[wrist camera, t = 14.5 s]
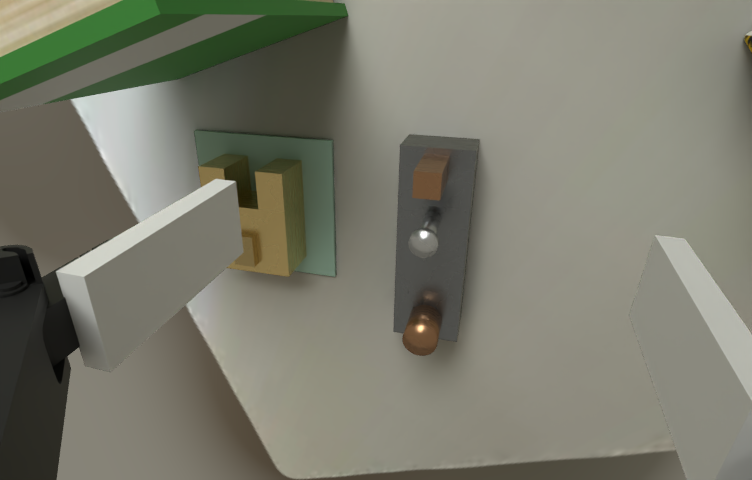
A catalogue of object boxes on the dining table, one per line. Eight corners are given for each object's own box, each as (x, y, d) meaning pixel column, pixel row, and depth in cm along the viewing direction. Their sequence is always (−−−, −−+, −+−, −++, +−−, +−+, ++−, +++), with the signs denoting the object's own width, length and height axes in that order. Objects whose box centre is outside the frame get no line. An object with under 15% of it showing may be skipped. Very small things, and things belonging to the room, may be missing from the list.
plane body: (409, 134, 42) (385, 162, 34) (479, 139, 41) (471, 169, 33) (401, 309, 50) (380, 366, 41) (460, 318, 48) (450, 378, 40)
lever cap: (224, 153, 47) (192, 168, 42) (301, 160, 45) (277, 176, 40) (235, 246, 51) (208, 269, 46) (306, 255, 49) (285, 280, 45)
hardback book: (317, -87, 37) (59, -226, 16) (348, 15, 39) (160, 14, 18) (142, -6, 43) (-217, -27, 22) (178, 79, 45) (-113, 133, 24)
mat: (196, 130, 47) (193, 130, 47) (333, 140, 44) (331, 141, 44) (214, 258, 53) (212, 259, 52) (336, 274, 50) (335, 276, 49)
